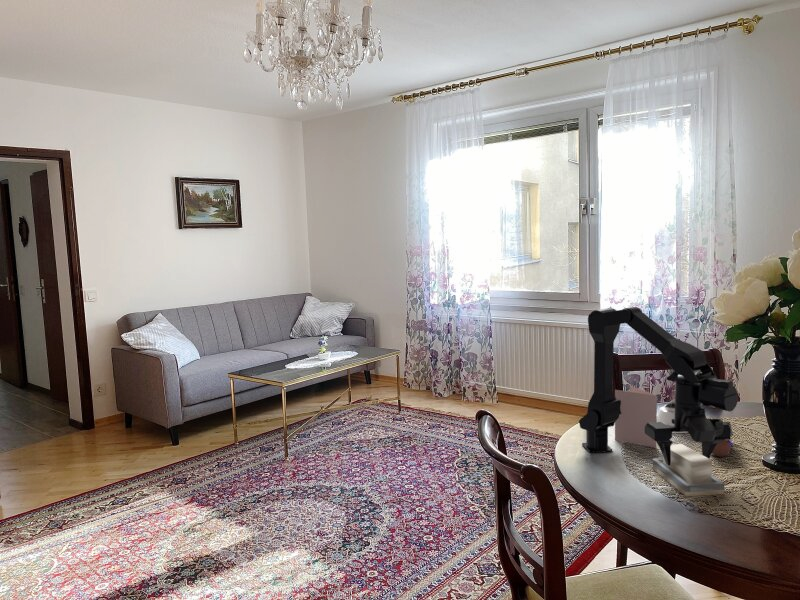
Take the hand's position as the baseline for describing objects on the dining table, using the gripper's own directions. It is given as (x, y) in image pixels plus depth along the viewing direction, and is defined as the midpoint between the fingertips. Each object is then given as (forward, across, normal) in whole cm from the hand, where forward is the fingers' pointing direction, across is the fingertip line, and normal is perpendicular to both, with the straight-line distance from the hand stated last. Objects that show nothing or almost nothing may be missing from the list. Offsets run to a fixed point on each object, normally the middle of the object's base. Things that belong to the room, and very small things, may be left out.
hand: (686, 463), depth 142 cm
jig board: (+4, 0, 0) cm, 4 cm away
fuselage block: (+3, 0, 0) cm, 3 cm away
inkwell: (+4, +18, +37) cm, 41 cm away
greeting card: (+4, -1, +26) cm, 26 cm away
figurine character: (+5, +19, +18) cm, 27 cm away
